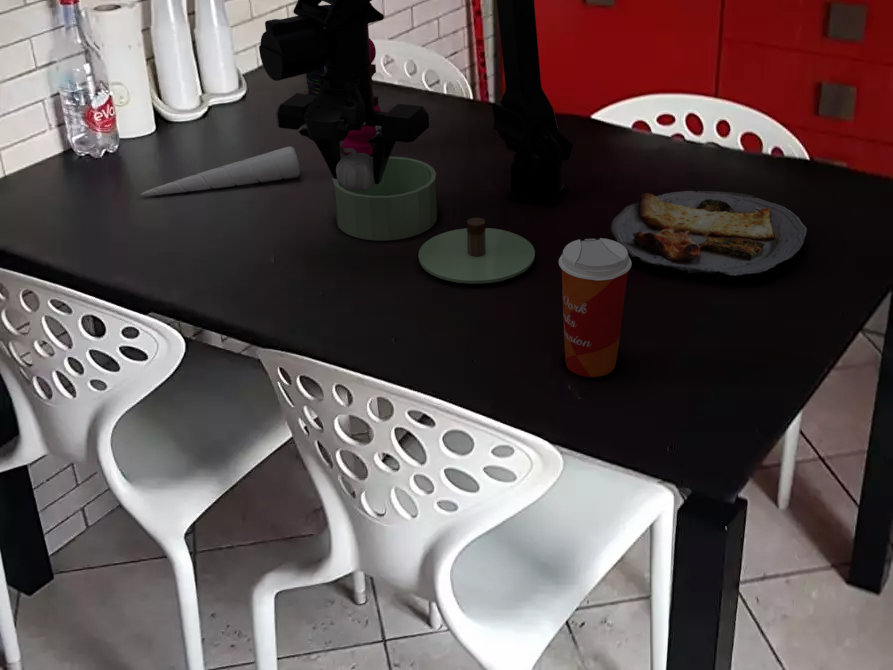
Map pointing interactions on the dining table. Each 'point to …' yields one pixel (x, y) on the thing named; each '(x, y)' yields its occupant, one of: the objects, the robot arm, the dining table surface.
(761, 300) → the dining table surface
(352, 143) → the pepper mill
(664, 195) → the food plate
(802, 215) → the dining table surface
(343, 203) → the squat sage green cylinder
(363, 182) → the garlic
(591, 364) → the paper cup
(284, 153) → the unicorn horn
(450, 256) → the lid
